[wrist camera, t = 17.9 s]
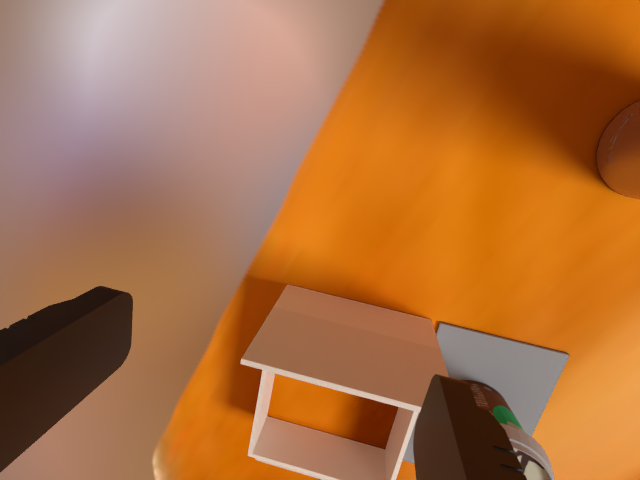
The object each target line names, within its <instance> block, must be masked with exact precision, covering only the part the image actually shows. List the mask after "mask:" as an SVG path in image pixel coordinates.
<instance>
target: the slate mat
mask: <svg viewBox="0 0 640 480" xmlns="http://www.w3.org/2000/svg"><path fill="white" fill-rule="evenodd" d="M436 336H437V340H438V343H439V346H440V349H441V353H442V356H443V359H444V363H445V366H446V369H447V372H448V376H449V377H450V378H454V379H457V380H472V381H478V382H481V383H484V384H487V385H489V386H491V387H492V388H494V389H495V390H497V391H498V392H499V393H500V394H501V395H502V396H503V398H504V399H505V401H506V402H507V404H508V406H509V407H510V409H511V410H512V412H513V414H514V415H515V417H516V418H517V420H518V422H519V423H520V425H521V427H522V428H523V430H524V431H525V433H527V434H528V435H529V436H532V434H533V432H534V430H535V428H536V426H537V424H538V422H539V419H540V417H541V415H542V413H543V411H544V409H545V407H546V405H547V403H548V400H549V398H550V396H551V394H552V392H553V390H554V388H555V386H556V383H557V381H558V379H559V377H560V375H561V373H562V371H563V369H564V367H565V364H566V362H567V360H568V358H569V356H570V355H569V354H568V353H564V352H560V351H556V350H552V349H548V348H544V347H540V346H536V345H532V344H528V343H524V342H520V341H516V340H512V339H508V338H504V337H500V336H496V335H492V334H487V333H483V332H479V331H475V330H471V329H467V328H463V327H459V326H455V325H451V324H447V323H443V322H440V324H439V327H438V330H437V333H436ZM419 414H420V413H418V416H419ZM418 416H417V419H418ZM417 419H416V422H417ZM416 422H415V425H414V428H413V431H412V434H411V437H410V439H409V442H408V445H407V448H406V451H405V454H404V457H403V461H407V462H410V463H414V464H415V462H414V453H413V438H414V431H415V426H416Z"/></svg>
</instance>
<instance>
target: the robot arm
mask: <svg viewBox="0 0 640 480" xmlns="http://www.w3.org/2000/svg"><path fill="white" fill-rule="evenodd" d="M597 166H598V170H599V173H600V175H601V177H602V179H603V180H604V182H605V183H606V184H607V185H608V186H609V187H610V188H611V189H613V190H614V191H615V192H617V193H619V194H622V195H624V196H627V197H631V198H636V199H640V101H637V102H635V103H633V104H632V105H630V106H628V107H627V108H625V109H624V110H622V111H621V112H620V113H619V114H618V115H617V116H616V117H615V118H614V119H613V120H612V121H611V122H610V124H609V125H608V126H607V127H606V129H605V131H604V133H603V135H602V137H601V138H600V142H599V145H598V148H597ZM132 311H133V299H132V296H131V295H130V294H129V293H127V292H123V291H119V290H114V289H111V288H107V287H103V286H99V287H96V288H94V289H92V290H90V291H88V292H86V293H84V294H82V295H80V296H78V297H76V298H74V299H72V300H68V301H65V302H61V303H57V304H54V305H50V306H48V307H46V308H44V309H42V310H40V311H38V312H36V313H34V314H32V315H30V316H28V318H27V319H22V320H20V321H18V322H16V323H14V324H12V325H10V327H9V328H8V329H7V328H4V329H2V330H0V472H1V471H2V470H4V469H5V468H6V467H7V466H8V465H9V464H10V463H12V461H14V460H15V459H16V458H17V457H18V456H20V454H22V453H23V452H24V451H25V450H26V449H27V448H29V447H30V446H31V445H32V444H33V443H34V442H35V441H37V440H38V439H39V438H40V437H41V436H42V435H43V434H45V433H46V432H47V431H48V430H49V429H50V428H51V427H52V426H54V425H55V424H56V423H57V422H58V421H59V420H60V419H61V418H63V417H64V416H65V415H66V414H67V413H68V412H69V411H71V410H72V409H73V408H74V407H75V406H76V405H77V404H79V403H80V402H81V401H82V400H83V399H84V398H85V397H86V396H87V395H89V394H90V393H91V392H92V391H93V390H94V389H95V388H97V387H98V386H99V385H100V384H101V383H102V382H103V381H105V380H106V379H107V378H108V377H109V376H110V375H111V374H113V373H114V372H115V371H116V370H117V369H118V368H119V367H120V366H121V365H122V364H123V362H124V361H125V359H126V358H127V356H128V353H129V350H130V347H131V336H132ZM413 453H414V462H415V470H416V479H417V480H527V478H526V476H525V475H523V469H522V467H521V464H520V462H519V460H518V458H517V456H515V454H514V453H515V451H514V449H513V446H512V444H511V442H510V440H509V437H508V435H507V433H506V431H505V429H504V428H503V427H502V426H501V425H500V423H499V422H498V421H497V420H496V419H495V418H494V416H493V415H492V414H491V413H490V412H489V410H485V409H482V408H478V406H477V403H476V401H475V398H474V395H473V393H472V390H471V388H470V385H469V384H468V383H467V382H465V381H461V380H457V379H454V378H450V377H446V376H442V375H438V374H435V375H434V376H433V377H432V379H431V382H430V385H429V387H428V390H427V393H426V396H425V399H424V402H423V405H422V408H421V411H420V414H419V416H418V419H417V422H416V426H415V431H414V438H413Z"/></svg>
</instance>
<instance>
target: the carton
mask: <svg viewBox="0 0 640 480" xmlns="http://www.w3.org/2000/svg"><path fill="white" fill-rule="evenodd" d="M240 364H242V365H246V366H250V367H253V368H257V369H261V370H262V376H261V381H260V387H259V393H258V399H257V405H256V410H255V416H254V422H253V428H252V434H251V439H250V445H249V451H248V456H250V457H253V458H255V460H257V461H261V462H264V463H267V464H271V465H274V466H277V467H281V468H284V469H288V470H291V471H294V472H298V473H301V474H304V475H308V476H311V477H315V478H318V479H321V480H396V477H397V474H398V472H399V469H400V466H401V463H402V460H403V457H404V454H405V451H406V448H407V445H408V442H409V439H410V437H411V434H412V431H413V428H414V425H415V422H416V419H417V416H418V413H420V411H421V408H422V405H423V402H424V399H425V396H426V393H427V390H428V387H429V385H430V382H431V379H432V377H433V376H434V375H435V374H438V375H442V376H446V377H449V376H448V372H447V369H446V366H445V363H444V359H443V356H442V353H441V349H440V346H439V343H438V340H437V336H436V333H435V330H434V327H433V323H432V320H431V319H427V318H423V317H419V316H415V315H410V314H406V313H402V312H398V311H394V310H390V309H386V308H382V307H378V306H374V305H370V304H366V303H362V302H358V301H354V300H350V299H346V298H342V297H338V296H333V295H329V294H325V293H321V292H317V291H313V290H309V289H305V288H301V287H297V286H293V285H289V284H287V286H286V287H285V289H284V290H283V292H282V294H281V295H280V297H279V299H278V300H277V302H276V303H275V305H274V307H273V308H272V310H271V311H270V313H269V315H268V316H267V318H266V319H265V321H264V323H263V324H262V326H261V328H260V329H259V331H258V332H257V334H256V336H255V337H254V339H253V340H252V342H251V344H250V345H249V347H248V348H247V350H246V352H245V353H244V355H243V357H242V358H241V363H240ZM275 373H276V374H279V375H283V376H287V377H290V378H294V379H298V380H301V381H305V382H309V383H312V384H316V385H320V386H323V387H327V388H331V389H334V390H338V391H342V392H346V393H349V394H353V395H357V396H360V397H364V398H368V399H371V400H375V401H379V402H382V403H386V404H390V405H393V406H397V407H398V411H397V414H396V417H395V420H394V423H393V426H392V429H391V432H390V436H389V439H388V442H387V445H386V448H385V449H382V448H378V447H374V446H371V445H367V444H364V443H360V442H357V441H353V440H350V439H346V438H343V437H339V436H336V435H332V434H329V433H325V432H322V431H318V430H315V429H311V428H307V427H304V426H300V425H297V424H293V423H290V422H286V421H283V420H279V419H276V418H272V417H269V416H267V414H268V409H269V404H270V398H271V393H272V388H273V382H274V377H275Z"/></svg>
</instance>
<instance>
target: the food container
mask: <svg viewBox="0 0 640 480" xmlns="http://www.w3.org/2000/svg"><path fill="white" fill-rule="evenodd" d="M461 381H465V382H467V383H468V384H469V385H470V388H471V390H472V393H473V395H474V398H475V401H476V403H477V406H478V408H482V409H485V410H489V412H490V413H491V414H492V415H493V416H494V418H495V419H496V420H497V421H498V422H499V423H500V425H501V426H502V427H503V428H504V429H505V431H506V433H507V435H508V437H509V440H510V442H511V444H512V446H513V449H514V451H515V453H514V454H515V456H517V458H518V460H519V462H520V464H521V467H522V469H523V475H525V476H526V478H527V480H555V479H554V474H553V471H552V467H551V463H550V460H549V458H548V456H547V454H546V452H545V451H544V449H543V448H542V446H541V445H540V444H539V443H538V442H537V441H536V440H535V439H533V438H532V437H531V436H529V435H528V434H527V433H525V431H524V430H523V428H522V427H521V425H520V423H519V422H518V420H517V418H516V417H515V415H514V414H513V412H512V410H511V409H510V407H509V406H508V404H507V402H506V401H505V399H504V398H503V396H502V395H501V394H500V393H499V392H498V391H497V390H495V389H494V388H492V387H491V386H489V385H487V384H484V383H481V382H478V381H472V380H461Z"/></svg>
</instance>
